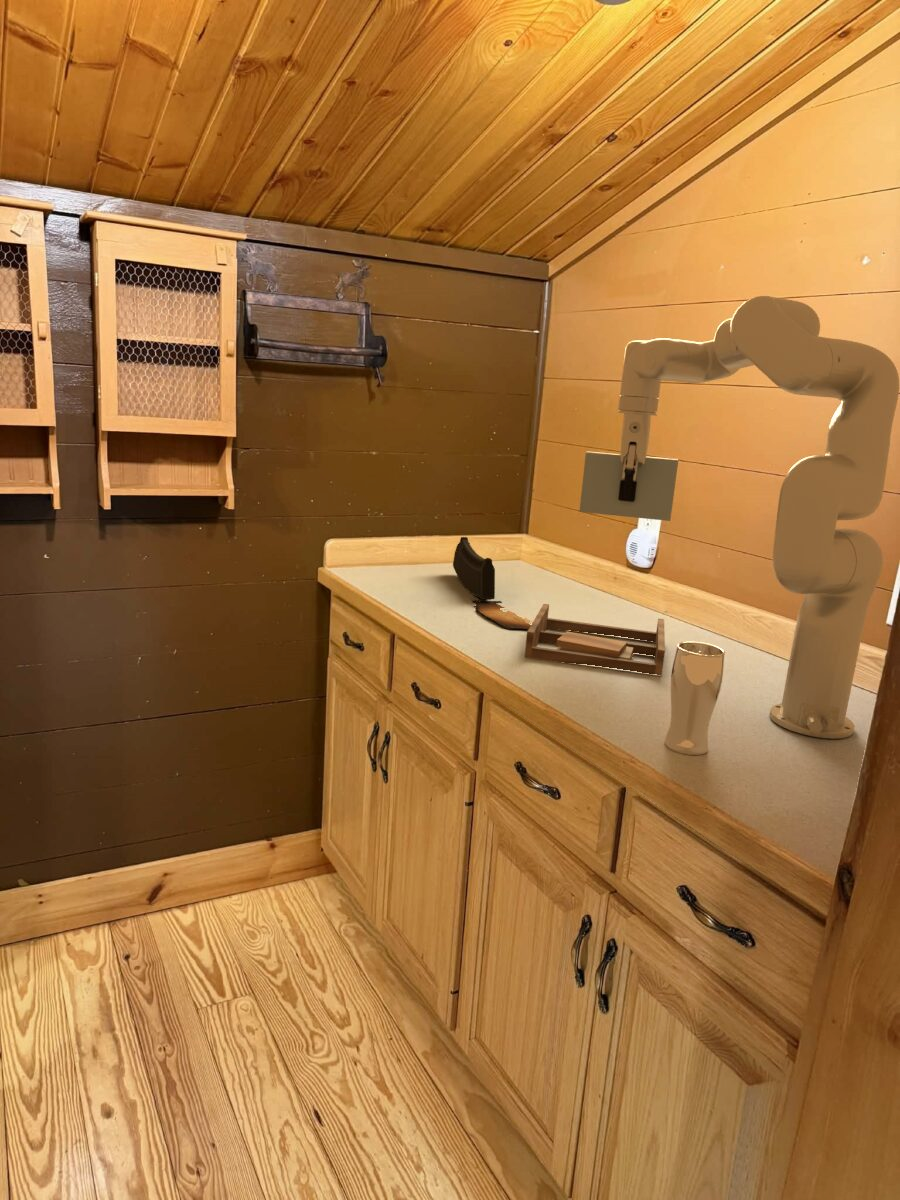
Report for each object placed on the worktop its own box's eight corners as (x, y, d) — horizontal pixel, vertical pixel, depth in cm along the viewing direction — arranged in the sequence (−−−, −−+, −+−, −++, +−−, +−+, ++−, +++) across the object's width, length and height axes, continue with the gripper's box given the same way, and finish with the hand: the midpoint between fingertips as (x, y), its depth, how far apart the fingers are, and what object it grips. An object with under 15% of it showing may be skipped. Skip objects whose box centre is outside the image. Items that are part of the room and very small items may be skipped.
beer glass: (686, 734, 126) (701, 639, 123) (721, 753, 121) (737, 653, 117) (651, 740, 123) (665, 643, 120) (685, 759, 117) (700, 658, 114)
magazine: (500, 569, 192) (472, 512, 217) (486, 568, 191) (460, 512, 216) (488, 631, 201) (463, 570, 226) (475, 631, 200) (451, 569, 225)
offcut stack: (627, 671, 156) (629, 653, 155) (553, 658, 160) (554, 640, 160) (633, 659, 163) (636, 641, 163) (562, 647, 168) (564, 630, 167)
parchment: (545, 632, 177) (546, 628, 177) (503, 632, 174) (503, 628, 174) (500, 603, 200) (500, 600, 200) (461, 603, 197) (462, 599, 196)
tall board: (670, 521, 166) (678, 460, 164) (579, 511, 170) (585, 452, 167) (670, 519, 169) (678, 459, 166) (580, 510, 173) (587, 451, 170)
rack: (661, 676, 153) (665, 650, 152) (524, 657, 158) (527, 631, 157) (660, 642, 175) (664, 619, 174) (541, 626, 181) (543, 603, 179)
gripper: (657, 408, 156) (644, 506, 160) (657, 408, 172) (646, 497, 176) (616, 405, 158) (605, 502, 162) (620, 405, 173) (609, 494, 178)
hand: (626, 499), depth 169 cm, fingers closed on tall board, 3 cm apart
